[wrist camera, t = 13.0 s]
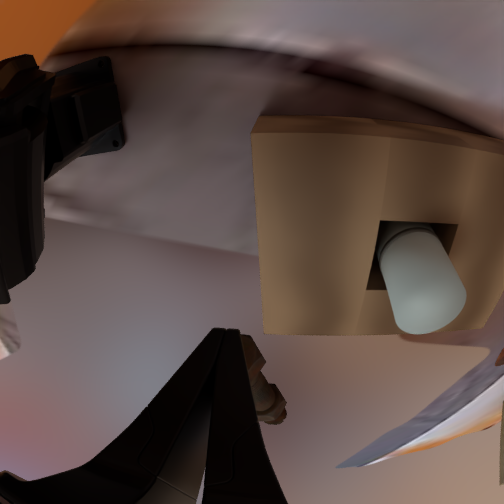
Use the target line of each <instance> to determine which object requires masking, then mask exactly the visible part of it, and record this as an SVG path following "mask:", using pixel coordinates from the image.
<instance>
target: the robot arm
mask: <svg viewBox="0 0 504 504" xmlns="http://www.w3.org/2000/svg"><path fill="white" fill-rule="evenodd" d="M102 61H104V66H103V67H102V65H101V62H102ZM121 120H122V116H121V111H120V105H119V100H118V94H117V88H116V84H115V83H114V79H113V72H112V65H111V60H110V58H109V57H107V56H102V57H98V58H95V59H92V60H89V61H86V62H83V63H81V64H78V65H75V66H72V67H70V68H67V69H65V70H62V71H59V72H57V73H51V72H46V71H42V70H39V66H37V64H36V61H35V59H34V57H33V55H29V54H23V55H19V56H15V57H11V58H7V59H4V60H2V61H0V304H8V303H9V302H10V301H11V299H10V295H9V292H8V289H11V288H13V287H14V286H16V285H17V284H19V283H21V282H22V281H24V280H26V279H27V278H28V277H29V276H30V275H31V274H32V273H33V272H34V271H35V269H36V268H35V267H36V266H35V264H36V263H37V261H38V259H39V257H40V255H41V253H42V251H43V248H44V238H45V231H44V218H45V209H44V182H45V181H46V180H47V179H49V178H50V177H51V176H53V175H54V174H55V173H57V172H58V171H59V170H61V169H62V168H63V167H65V166H66V165H68V164H69V163H70V162H72V161H73V160H75V159H76V158H78V157H81V156H87V155H93V154H99V153H105V152H111V151H117V150H120V149H121V148H122V147H123V146H124V145H125V139H124V134H123V129H122V124H121ZM115 140H117V141H118V142H119V145H117V144H116V142H115ZM205 467H206V468H205ZM204 470H205V479H204V491H203V498H202V504H288V503H287V501H286V498H285V496H284V494H283V491H282V489H281V487H280V484H279V482H278V480H277V477H276V475H275V472H274V470H273V468H272V465H271V463H270V460H269V457H268V454H267V451H266V449H265V445H264V441H263V438H262V434H261V429H260V425H259V421H258V416H257V412H256V407H255V402H254V397H253V393H252V388H251V383H250V378H249V374H248V369H247V364H246V359H245V354H244V349H243V344H242V339H241V334H240V330H238V329H227V330H226V329H225V328H213V329H212V330H211V331H210V332H209V333H208V334H207V336H206V337H205V338H204V339H203V340H202V342H201V343H200V344H199V345H198V346H197V348H196V349H195V350H194V351H193V352H192V354H191V355H190V356H189V357H188V358H187V360H186V361H185V362H184V363H183V364H182V366H181V367H180V368H179V369H178V370H177V371H176V372H175V374H174V375H173V376H172V377H171V378H170V380H169V381H168V382H167V383H166V384H165V385H164V387H163V388H162V389H161V390H160V391H159V393H158V394H157V395H156V396H155V397H154V398H153V400H152V401H151V402H150V403H149V404H148V407H145V409H144V410H143V411H142V412H141V414H139V416H138V417H137V418H136V419H135V420H134V421H133V422H132V423H131V424H130V425H129V426H128V427H127V428H126V429H125V430H124V431H123V432H122V433H121V434H120V435H119V436H118V437H117V438H116V439H114V440H113V441H112V442H111V443H110V444H109V445H108V446H107V447H105V448H104V449H103V450H102V451H101V452H100V453H99V454H97V455H96V456H95V457H94V458H93V459H91V460H90V461H89V462H87V463H85V464H84V465H82V466H79V467H77V468H74V469H71V470H68V471H65V472H61V473H58V474H55V475H51V476H48V477H45V478H41V479H38V480H32V481H27V480H25V479H23V478H21V477H19V476H17V475H15V474H13V473H11V472H9V471H6V470H4V471H2V472H0V504H196V501H197V500H196V499H197V497H198V493H199V489H200V486H201V482H202V478H203V474H204Z"/></svg>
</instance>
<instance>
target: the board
mask: <svg viewBox="0 0 504 504" xmlns="http://www.w3.org/2000/svg"><path fill="white" fill-rule="evenodd" d="M251 147H252V161H253V175H254V190H255V204H256V219H257V234H258V249H259V265H260V279H261V295H262V312H263V328H264V334H281V335H389V334H411V333H407V332H405V331H403V330H401V329H400V328H399V327H398V326H397V324H396V321H395V317H394V313H393V310H392V306H391V302H390V298H389V295H388V291H387V288H386V284H385V281H384V277H383V275H382V273H381V270H380V266H379V261H378V257H377V254H376V252H374V250H375V245H376V239H377V234H378V228H379V223H380V220H387V221H410V222H428V223H429V224H430V226H431V228H432V229H433V231H434V233H435V234H436V235H437V236H438V238H439V239H440V241H441V243H442V245H443V248H444V250H445V252H446V253H447V255H448V257H449V259H450V261H451V262H452V264H453V266H454V268H455V270H456V272H457V274H458V276H459V278H460V280H461V282H462V284H463V286H464V288H465V290H466V302H465V305H464V307H463V309H462V310H461V312H460V313H459V314H458V316H457V317H456V318H455V319H454V320H453V321H451V322H450V323H449V324H447V325H446V326H444V327H442V328H440V329H438V330H436V331H433V332H444V331H457V330H468V329H478V328H483V326H484V325H485V323H486V321H487V320H488V318H489V316H490V314H491V313H492V311H493V309H494V307H495V306H496V304H497V302H498V300H499V298H500V296H501V295H502V293H503V291H504V140H500V139H496V138H492V137H488V136H483V135H479V134H474V133H469V132H464V131H459V130H453V129H448V128H442V127H436V126H430V125H423V124H416V123H408V122H400V121H391V120H381V119H370V118H356V117H340V116H312V115H267V116H259V117H258V119H257V121H256V123H255V125H254V127H253V129H252V131H251Z"/></svg>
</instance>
